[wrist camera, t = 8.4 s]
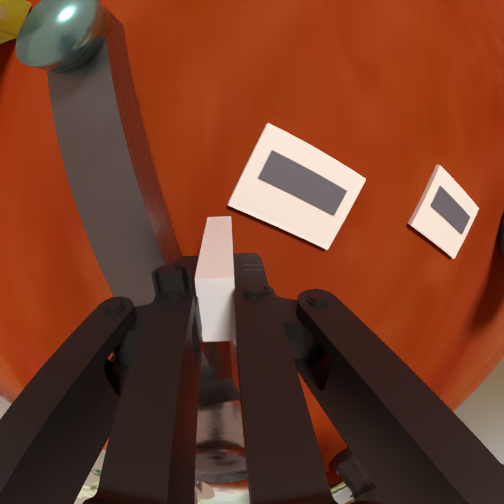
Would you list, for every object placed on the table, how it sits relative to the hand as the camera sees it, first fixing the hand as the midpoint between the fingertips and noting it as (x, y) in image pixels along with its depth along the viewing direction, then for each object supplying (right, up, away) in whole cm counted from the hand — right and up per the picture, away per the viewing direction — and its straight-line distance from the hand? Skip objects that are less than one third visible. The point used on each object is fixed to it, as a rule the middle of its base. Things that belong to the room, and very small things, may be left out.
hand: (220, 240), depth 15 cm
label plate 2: (+20, +3, +5) cm, 21 cm away
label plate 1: (+5, +4, +3) cm, 7 cm away
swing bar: (-4, +2, -2) cm, 5 cm away
